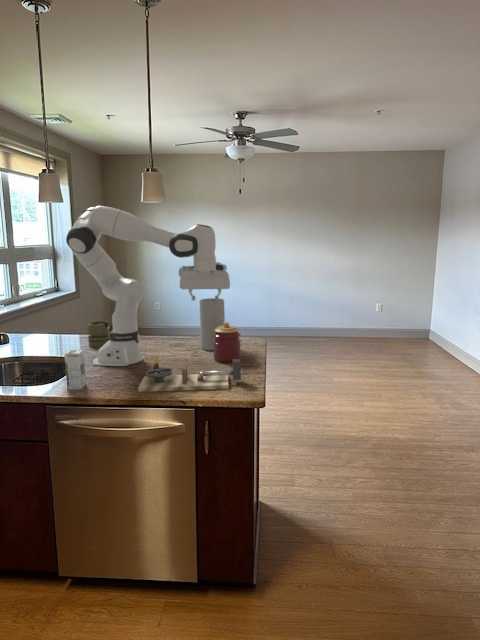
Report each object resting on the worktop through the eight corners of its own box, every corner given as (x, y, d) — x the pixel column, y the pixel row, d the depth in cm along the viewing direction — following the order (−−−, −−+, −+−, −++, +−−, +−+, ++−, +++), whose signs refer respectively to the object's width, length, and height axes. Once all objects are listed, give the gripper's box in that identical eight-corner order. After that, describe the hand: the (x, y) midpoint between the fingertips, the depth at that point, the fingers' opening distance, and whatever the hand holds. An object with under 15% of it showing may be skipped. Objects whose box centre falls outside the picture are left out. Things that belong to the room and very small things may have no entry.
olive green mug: (112, 320, 236) (103, 325, 225) (114, 342, 238) (105, 347, 227) (93, 320, 237) (83, 324, 226) (94, 341, 240) (85, 346, 229)
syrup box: (71, 385, 170) (68, 349, 167) (86, 384, 170) (83, 349, 167) (67, 390, 164) (63, 353, 161) (82, 389, 165) (79, 353, 162)
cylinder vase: (216, 352, 214) (214, 302, 209) (196, 349, 220) (194, 301, 215) (229, 346, 224) (228, 299, 219) (210, 343, 231) (209, 297, 226)
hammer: (199, 380, 167) (198, 363, 165) (200, 377, 171) (199, 360, 169) (243, 379, 167) (242, 361, 166) (242, 376, 171) (242, 358, 170)
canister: (219, 364, 193) (218, 326, 190) (209, 357, 205) (208, 321, 202) (245, 360, 198) (244, 323, 195) (234, 353, 210) (233, 318, 207)
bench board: (138, 391, 161) (137, 381, 160) (144, 379, 175) (144, 369, 174) (228, 388, 163) (228, 378, 162) (228, 376, 176) (227, 367, 176)
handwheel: (160, 368, 174) (160, 354, 173) (177, 373, 168) (176, 358, 167) (140, 374, 167) (139, 359, 166) (157, 379, 161) (156, 364, 159)
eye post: (182, 383, 165) (181, 369, 164) (184, 377, 172) (183, 363, 171) (186, 383, 165) (185, 369, 164) (187, 377, 172) (186, 363, 171)
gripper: (177, 266, 167) (178, 301, 170) (230, 266, 169) (230, 301, 172) (179, 265, 174) (179, 299, 176) (229, 265, 175) (229, 298, 178)
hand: (205, 300), depth 174 cm, fingers open, 8 cm apart
